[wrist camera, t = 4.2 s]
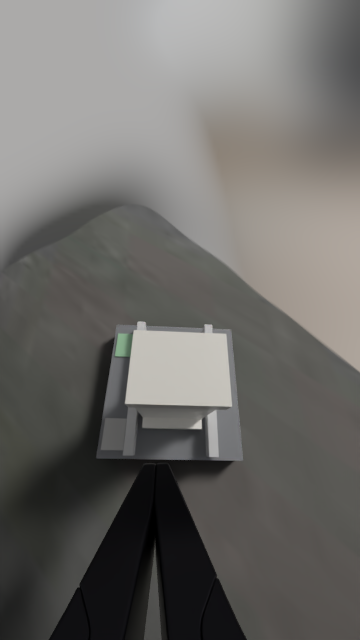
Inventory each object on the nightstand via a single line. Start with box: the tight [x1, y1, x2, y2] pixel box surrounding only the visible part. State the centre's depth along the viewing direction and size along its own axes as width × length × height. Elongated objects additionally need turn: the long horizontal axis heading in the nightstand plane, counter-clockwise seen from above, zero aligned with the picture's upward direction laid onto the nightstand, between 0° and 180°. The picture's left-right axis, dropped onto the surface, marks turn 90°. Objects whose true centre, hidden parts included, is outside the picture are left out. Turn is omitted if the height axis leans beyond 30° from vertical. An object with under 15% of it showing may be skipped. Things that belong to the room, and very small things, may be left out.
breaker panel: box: [96, 322, 243, 461], centre depth 15 cm, size 8×8×2 cm
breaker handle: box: [125, 330, 232, 430], centre depth 11 cm, size 3×3×7 cm
